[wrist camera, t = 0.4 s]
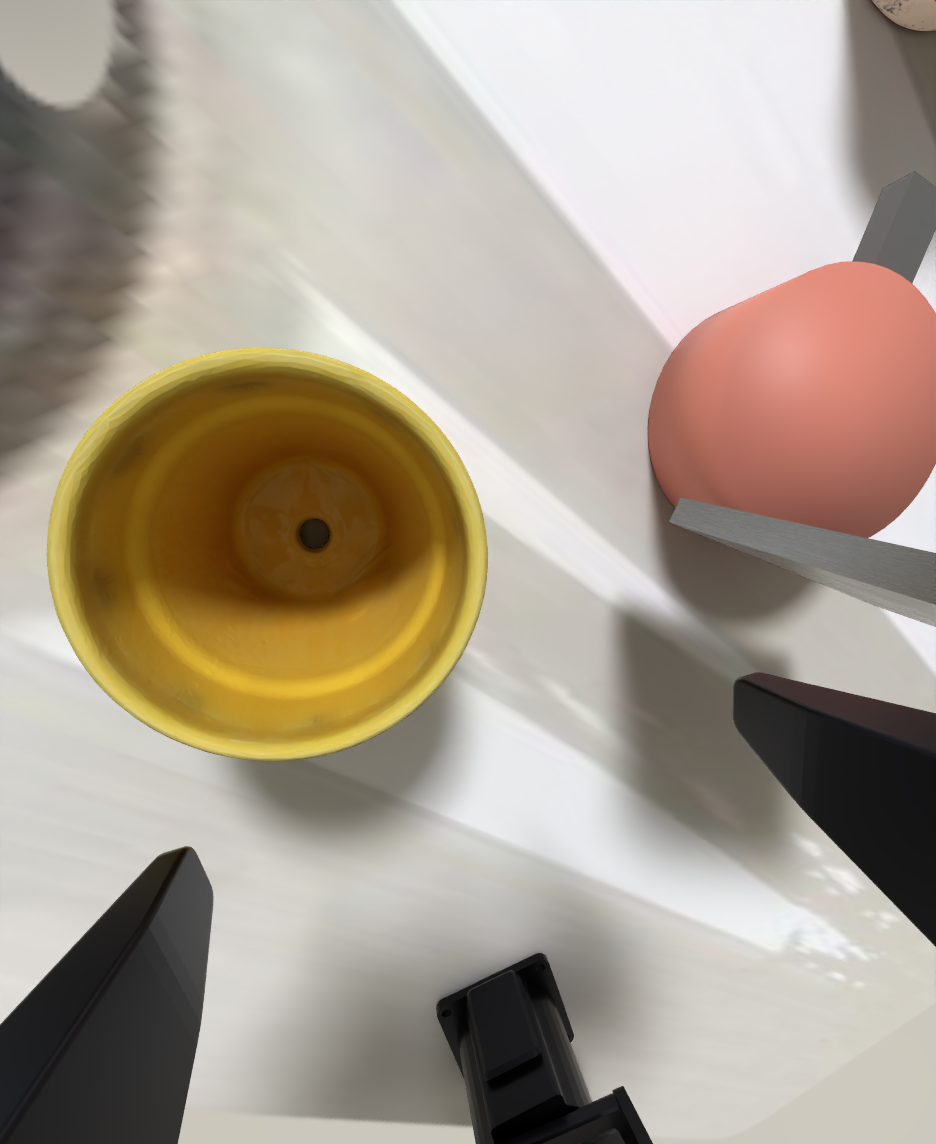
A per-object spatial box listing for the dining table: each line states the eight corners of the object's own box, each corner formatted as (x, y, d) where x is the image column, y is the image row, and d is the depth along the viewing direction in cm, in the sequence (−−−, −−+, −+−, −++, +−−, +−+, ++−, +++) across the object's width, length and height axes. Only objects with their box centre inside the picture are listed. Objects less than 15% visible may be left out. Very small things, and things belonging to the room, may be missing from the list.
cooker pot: (788, 563, 27) (881, 583, 22) (613, 492, 24) (677, 496, 19) (907, 289, 26) (1034, 247, 21) (736, 179, 23) (837, 99, 18)
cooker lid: (885, 584, 22) (855, 637, 23) (680, 497, 19) (651, 560, 20) (1345, 722, 12) (1271, 816, 12) (1045, 577, 9) (964, 707, 9)
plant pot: (458, 610, 24) (524, 700, 14) (230, 673, 22) (136, 821, 13) (404, 380, 21) (442, 306, 12) (144, 431, 20) (-50, 393, 10)
